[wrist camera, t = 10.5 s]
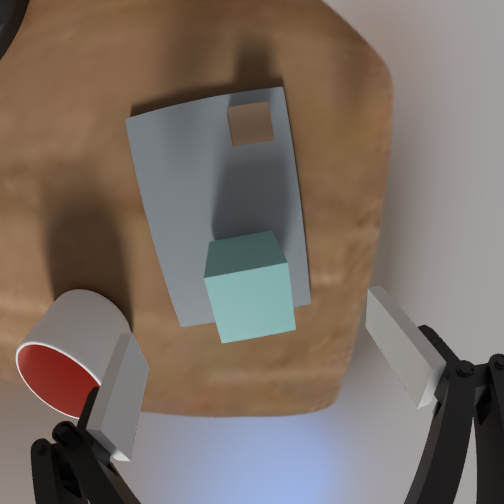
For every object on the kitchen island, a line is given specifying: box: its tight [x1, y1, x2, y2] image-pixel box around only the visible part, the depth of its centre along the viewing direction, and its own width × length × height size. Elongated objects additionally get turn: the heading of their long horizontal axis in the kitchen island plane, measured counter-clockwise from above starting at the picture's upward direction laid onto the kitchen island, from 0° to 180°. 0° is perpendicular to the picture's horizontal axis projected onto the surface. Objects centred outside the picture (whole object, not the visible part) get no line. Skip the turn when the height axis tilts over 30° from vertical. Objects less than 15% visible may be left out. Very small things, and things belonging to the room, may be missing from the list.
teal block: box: [204, 230, 296, 343], centre depth 22 cm, size 5×5×7 cm
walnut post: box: [227, 101, 275, 147], centre depth 19 cm, size 3×3×5 cm
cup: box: [16, 289, 131, 419], centre depth 24 cm, size 10×10×10 cm
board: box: [125, 87, 311, 327], centre depth 25 cm, size 20×13×1 cm, turn 9°
